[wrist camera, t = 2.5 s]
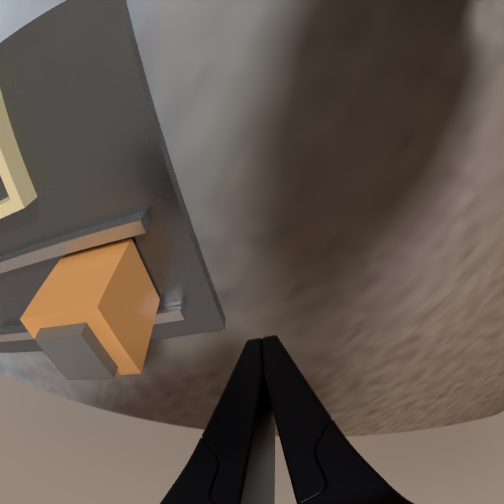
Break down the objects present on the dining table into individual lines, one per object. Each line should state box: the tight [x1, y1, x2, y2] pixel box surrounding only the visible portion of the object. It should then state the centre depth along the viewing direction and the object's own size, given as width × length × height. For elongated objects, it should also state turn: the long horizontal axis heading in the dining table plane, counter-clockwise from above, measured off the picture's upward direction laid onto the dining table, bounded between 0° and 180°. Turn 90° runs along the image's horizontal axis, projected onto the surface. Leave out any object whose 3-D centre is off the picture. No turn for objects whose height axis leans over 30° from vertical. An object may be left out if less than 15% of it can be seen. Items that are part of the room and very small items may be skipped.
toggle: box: [20, 238, 160, 380], centre depth 12 cm, size 4×4×5 cm
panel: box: [0, 0, 225, 353], centre depth 13 cm, size 18×17×2 cm
